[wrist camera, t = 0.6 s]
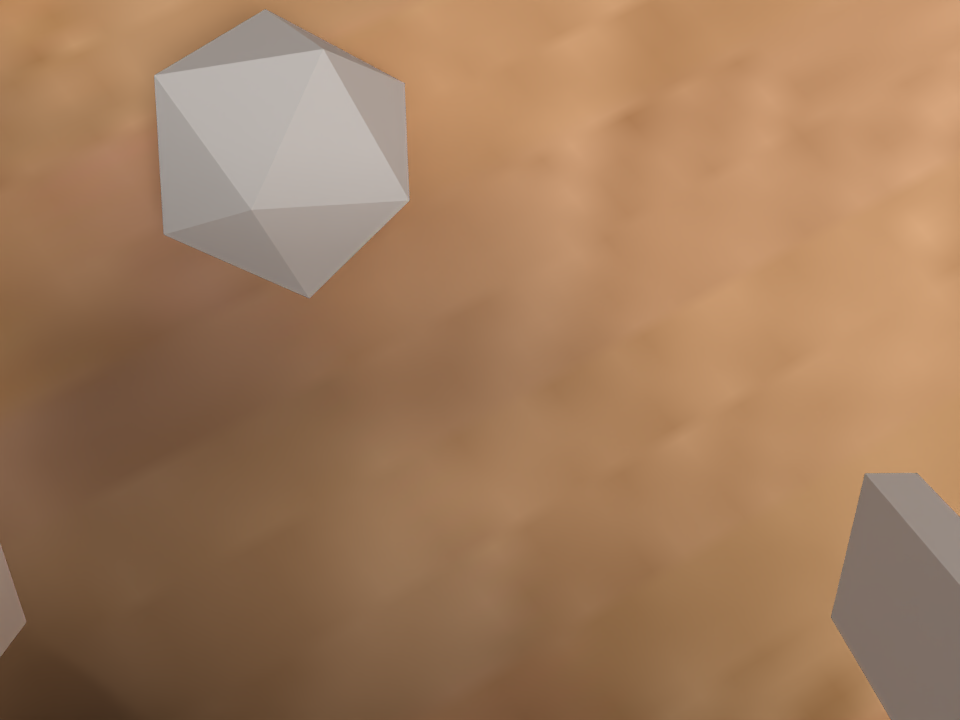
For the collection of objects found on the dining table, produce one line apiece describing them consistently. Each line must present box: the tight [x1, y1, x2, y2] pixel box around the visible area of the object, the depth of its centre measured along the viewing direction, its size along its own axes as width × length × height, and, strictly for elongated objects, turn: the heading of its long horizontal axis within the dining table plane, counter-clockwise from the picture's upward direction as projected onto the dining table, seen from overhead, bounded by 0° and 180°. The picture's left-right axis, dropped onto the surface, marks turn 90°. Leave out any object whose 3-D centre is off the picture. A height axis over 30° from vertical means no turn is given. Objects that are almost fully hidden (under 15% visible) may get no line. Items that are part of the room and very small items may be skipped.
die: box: [154, 9, 410, 298], centre depth 25 cm, size 8×9×10 cm
